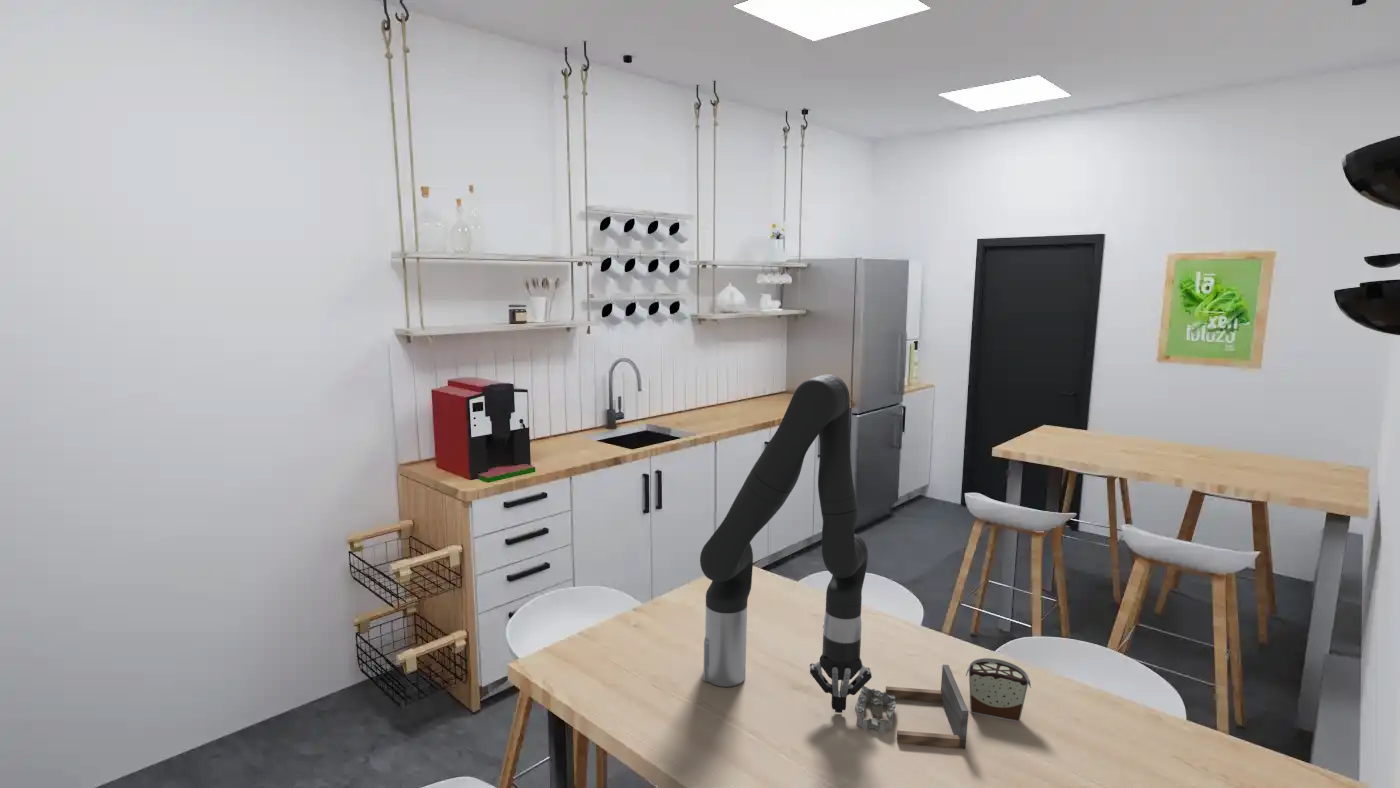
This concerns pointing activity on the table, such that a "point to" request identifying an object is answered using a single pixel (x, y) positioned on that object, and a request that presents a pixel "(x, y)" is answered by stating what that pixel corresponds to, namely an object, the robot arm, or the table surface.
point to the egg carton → (875, 709)
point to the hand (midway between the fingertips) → (838, 710)
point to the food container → (997, 688)
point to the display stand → (951, 705)
